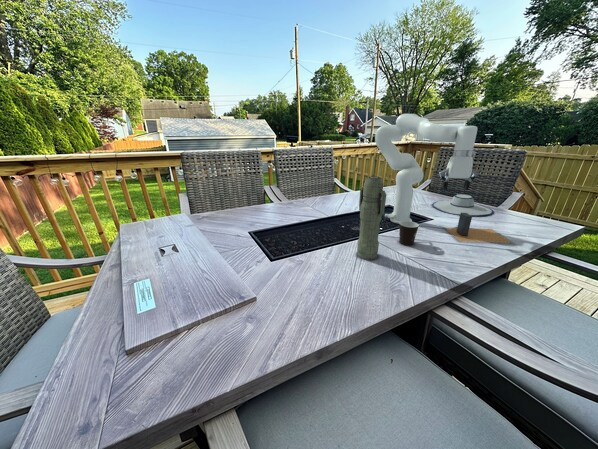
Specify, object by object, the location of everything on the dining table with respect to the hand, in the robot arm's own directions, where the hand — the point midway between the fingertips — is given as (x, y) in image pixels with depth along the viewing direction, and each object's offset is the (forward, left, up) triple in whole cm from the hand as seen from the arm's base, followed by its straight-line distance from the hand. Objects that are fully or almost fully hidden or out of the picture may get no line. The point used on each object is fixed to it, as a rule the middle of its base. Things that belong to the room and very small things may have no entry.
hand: (455, 189), depth 123 cm
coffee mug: (-22, -12, -24) cm, 35 cm away
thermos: (-44, -28, -24) cm, 58 cm away
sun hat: (+30, +50, -24) cm, 63 cm away
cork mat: (+15, 0, -24) cm, 28 cm away
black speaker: (+8, 0, -24) cm, 25 cm away
